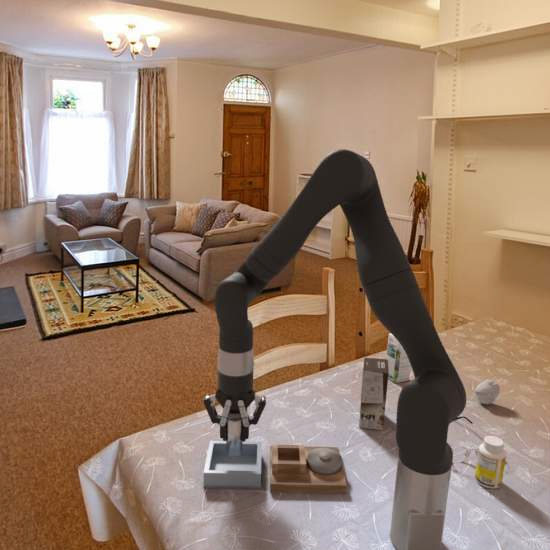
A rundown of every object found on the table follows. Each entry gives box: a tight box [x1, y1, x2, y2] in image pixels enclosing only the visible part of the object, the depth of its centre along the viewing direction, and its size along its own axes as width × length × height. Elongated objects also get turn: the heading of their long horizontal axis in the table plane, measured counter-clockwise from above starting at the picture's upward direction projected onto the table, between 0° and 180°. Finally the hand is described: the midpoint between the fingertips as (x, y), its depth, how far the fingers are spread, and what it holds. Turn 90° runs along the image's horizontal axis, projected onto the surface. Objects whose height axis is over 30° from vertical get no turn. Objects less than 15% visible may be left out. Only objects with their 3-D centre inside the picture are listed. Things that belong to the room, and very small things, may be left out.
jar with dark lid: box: [226, 412, 243, 456], centre depth 113 cm, size 5×5×10 cm
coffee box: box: [358, 357, 389, 431], centre depth 136 cm, size 9×6×16 cm
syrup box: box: [385, 332, 412, 384], centre depth 162 cm, size 6×6×14 cm
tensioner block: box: [269, 444, 348, 495], centre depth 115 cm, size 14×16×5 cm
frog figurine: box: [474, 378, 501, 405], centre depth 149 cm, size 6×7×7 cm
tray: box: [203, 440, 263, 490], centre depth 115 cm, size 12×12×4 cm
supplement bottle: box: [474, 435, 507, 490], centre depth 113 cm, size 6×6×10 cm
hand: (234, 439), depth 114 cm, fingers closed on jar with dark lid, 3 cm apart
